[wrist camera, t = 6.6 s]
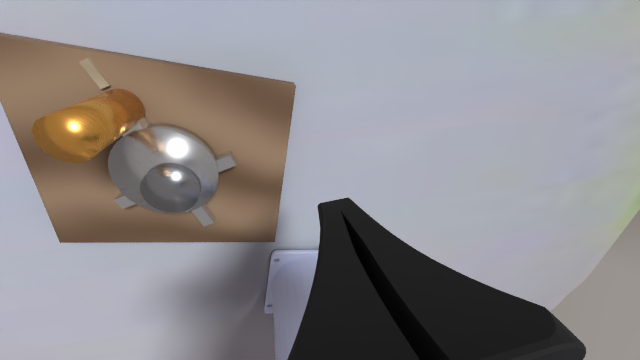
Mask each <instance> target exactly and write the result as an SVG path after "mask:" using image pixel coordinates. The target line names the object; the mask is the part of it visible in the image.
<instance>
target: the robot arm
mask: <svg viewBox="0 0 640 360" xmlns="http://www.w3.org/2000/svg"><path fill="white" fill-rule="evenodd" d="M318 212H319V220H320V244H319V250H275V251H273V252H272V254H271V261H270V268H269V276H268V284H267V291H266V299H265V306H264V313H266V314H273V317H274V340H275V360H583V358H584V357H585V354H586V348H585V346H584V344H583V343H582V342H581V341H580V340H579V339H577V337H576V336H574V334H573V333H572V332H571V331H570V330H568V329H567V328H566V327H565V326H564V325H563V324H562V323H561V322H560V321H559V320H558V319H557V318H556V317H555V316H554V315H553V314H551V312H549V311H548V310H547V309H546V308H545V307H542V306H540V305H537V304H534V303H532V302H529V301H526V300H524V299H521V298H518V297H516V296H513V295H510V294H507V293H505V292H502V291H500V290H497V289H495V288H492V287H490V286H488V285H485V284H483V283H481V282H478V281H476V280H474V279H471V278H469V277H467V276H465V275H463V274H461V273H458V272H456V271H455V270H453V269H451V268H449V267H447V266H445V265H443V264H441V263H439V262H437V261H435V260H433V259H431V258H429V257H428V256H426V255H424V254H422V253H421V252H419V251H417V250H416V249H414V248H412V247H411V246H409V245H408V244H406V243H405V242H403V241H402V240H400V239H399V238H398V237H396V236H395V235H393V234H392V233H390V232H389V231H388V230H386V229H385V228H384V227H383V226H381V225H380V224H379V223H378V222H376V221H375V220H374V219H373V218H371V217H370V216H369V215H368V214H367V213H365V212H364V211H363V210H362V209H361V208H360V207H359V206H357V205H356V204H355V203H354V202H353V201H352V200H351V199H349V198H344V199H339V200H334V201H329V202H324V203H320V204H319V205H318Z"/></svg>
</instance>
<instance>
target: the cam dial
mask: <svg viewBox="0 0 640 360" xmlns="http://www.w3.org/2000/svg"><path fill="white" fill-rule="evenodd" d="M144 116H145V108H144V105H143V103H142V102H141V100H140V99H139V98H138V97H137V96H136V95H134V94H133V93H131V92H129V91H127V90H124V89H112V90H109V91H107V92H104V93H102V94H99V95H97V96H94V97H92V98H89V99H87V100H84V101H82V102H79V103H76V104H74V105H71V106H69V107H66V108H64V109H61V110H59V111H56V112H54V113H51V114H48V115H46V116H43V117H41V118H39V119H38V120H36V121H35V123H34V124H33V127H32V135H33V138H34V140H35V142H36V144H37V145H38V146H39V147H40V148H41V149H42V150H43V151H44V152H45V153H47V154H48V155H50V156H52V157H53V158H56V159H58V160H61V161H64V162H69V163H81V162H85V161H88V160H90V159H91V158H92V157H94V156H95V155H96V154H98V153H99V152H100V151H102V150H103V149H104V148H106V147H107V146H108V145H110V144H111V143H112V142H114V141H115V140H116V139H118V138H119V137H120V136H122V135H123V137H122V138H121V139H120V140H119V141H117V142H116V143H115V145H114V146H113V148H112V149H111V152H110V154H109V158H108V169H109V173H110V177H111V179H112V181H113V183H114V184H115V186H116V187H117V188H118V189H119V191H120V192H121V193H120V194H118V195H117V197H116V198H115V199H114V201H115V202H116V203H117V204H118V205H119V206H120V207H121V208H122V209H124V208H127V207H130V206H132V205H135V204H137V205H139V206H141V207H144V208H146V209H149V210H152V211H156V212H161V213H184V212H189V211H192V213H193V214H194V215H195V216H196V218H197V219H198V220H199V221H200V222H201V224H202V225H203V226H204V227H205V226H207V225H210V224H212V223H214V221H215V215H214V214H213V213H212V211H211V210H210V209H209V207H208V206H207V205H206V202H208V201H209V200H210V198H211V197H212V196H213V194H214V192H215V190H216V188H217V184H218V181H219V177H220V172H221V171H223V170H226V169H229V168H231V167H234V166H236V163H237V160H236V158H235V157H234V155H233V153H232V152H231V151H230V152H227V153H225V154H222V155H219V156H216V154H215V152H214V151H213V149H212V148H211V147H210V145H209V144H208V143H207V142H206V141H205V140H203V139H202V138H201V137H200V136H198V135H197V134H195V133H194V132H192V131H190V130H188V129H185V128H183V127H180V126H177V125H172V124H166V123H152V124H149V122H148V121H147V120H146V118H145V117H144Z"/></svg>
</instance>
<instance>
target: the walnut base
mask: <svg viewBox="0 0 640 360" xmlns="http://www.w3.org/2000/svg"><path fill="white" fill-rule="evenodd" d="M295 88H296V86H295V84H294V83H292V82H286V81H280V80H275V79H269V78H263V77H257V76H251V75H245V74H239V73H233V72H228V71H222V70H216V69H210V68H204V67H198V66H192V65H186V64H181V63H175V62H169V61H163V60H157V59H151V58H145V57H140V56H134V55H128V54H122V53H116V52H110V51H104V50H98V49H93V48H87V47H81V46H75V45H69V44H63V43H57V42H51V41H46V40H40V39H34V38H28V37H22V36H16V35H10V34H4V33H0V102H1V104H2V106H3V109H4V111H5V113H6V116H7V118H8V121H9V123H10V125H11V128H12V130H13V132H14V135H15V137H16V140H17V142H18V144H19V147H20V149H21V151H22V154H23V156H24V159H25V161H26V163H27V166H28V168H29V170H30V173H31V175H32V177H33V180H34V182H35V185H36V187H37V189H38V192H39V194H40V196H41V199H42V201H43V204H44V206H45V208H46V211H47V213H48V215H49V218H50V220H51V222H52V225H53V227H54V230H55V232H56V234H57V237H58V239H59V241H60V243H61V242H275V235H276V227H277V220H278V213H279V205H280V198H281V191H282V183H283V176H284V169H285V161H286V154H287V147H288V139H289V132H290V125H291V117H292V110H293V103H294V95H295ZM112 89H124V90H127V91H129V92H131V93H133V94H134V95H136V96H137V97H138V98H139V99H140V100H141V102H142V103H143V105H144V108H145V116H144V117H145V118H146V120H147V121H148V122H149V124H152V123H166V124H172V125H177V126H180V127H183V128H185V129H188V130H190V131H192V132H194V133H195V134H197V135H198V136H200V137H201V138H202V139H203V140H205V141H206V142H207V143H208V144H209V145H210V147H211V148H212V149H213V151H214V152H215V154H216V156H219V155H222V154H225V153H227V152H230V151H231V152H232V153H233V155H234V157H235V158H236V160H237V163H236V166H234V167H231V168H229V169H226V170H223V171H221V172H220V177H219V181H218V184H217V188H216V190H215V192H214V194H213V196H212V197H211V198H210V200H209V201H208V202H206V205H207V206H208V207H209V209H210V210H211V211H212V213H213V214H214V215H215V221H214V223H212V224H210V225H207V226H205V227H204V226H203V225H202V224H201V222H200V221H199V220H198V219H197V218H196V216H195V215H194V214H193V213H192V211H189V212H184V213H161V212H156V211H152V210H149V209H146V208H144V207H141V206H139V205H137V204H135V205H132V206H130V207H127V208H124V209H122V208H121V207H120V206H119V205H118V204H117V203H116V202H115V201H114V199H115V198H116V197H117V195H118V194H120V193H121V192H120V191H119V189H118V188H117V187H116V186H115V184H114V183H113V181H112V179H111V177H110V173H109V169H108V158H109V154H110V152H111V149H112V148H113V146H114V145H115V143H116V142H117V141H119V140H120V139H121V138H122V137H123V135H122V136H120V137H119V138H118V139H116V140H115V141H114V142H112V143H111V144H110V145H108V146H107V147H106V148H104V149H103V150H102V151H100V152H99V153H98V154H96V155H95V156H94V157H92V158H91V159H90V160H88V161H85V162H81V163H69V162H64V161H61V160H58V159H56V158H53V157H52V156H50V155H48V154H47V153H45V152H44V151H43V150H42V149H41V148H40V147H39V146H38V145H37V144H36V142H35V140H34V138H33V135H32V127H33V124H34V123H35V121H36V120H38V119H39V118H41V117H43V116H46V115H48V114H51V113H54V112H56V111H59V110H61V109H64V108H66V107H69V106H71V105H74V104H76V103H79V102H82V101H84V100H87V99H89V98H92V97H94V96H97V95H99V94H102V93H104V92H107V91H109V90H112Z"/></svg>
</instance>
